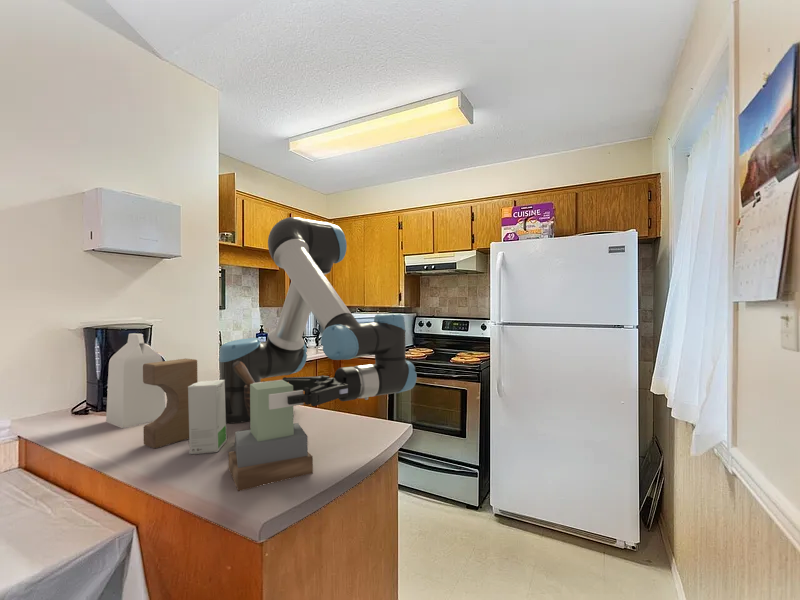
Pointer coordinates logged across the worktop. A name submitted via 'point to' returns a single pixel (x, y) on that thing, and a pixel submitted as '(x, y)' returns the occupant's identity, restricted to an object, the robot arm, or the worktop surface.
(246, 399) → the mortar and pestle
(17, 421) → the worktop surface
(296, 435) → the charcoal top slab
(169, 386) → the decorative block
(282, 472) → the walnut base slab
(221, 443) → the skincare box
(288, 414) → the sage block
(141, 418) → the milk
